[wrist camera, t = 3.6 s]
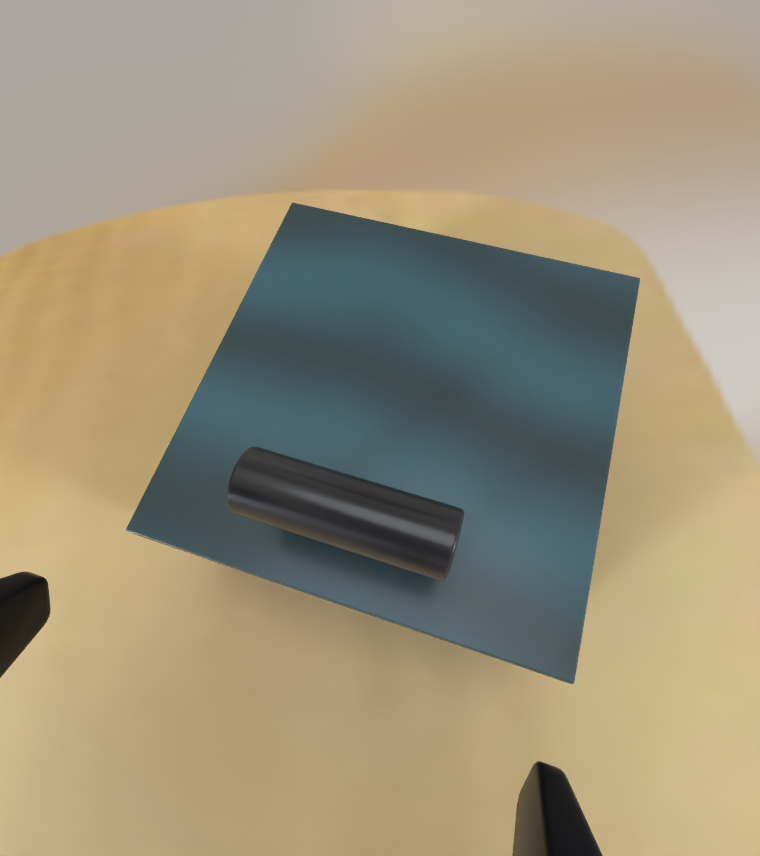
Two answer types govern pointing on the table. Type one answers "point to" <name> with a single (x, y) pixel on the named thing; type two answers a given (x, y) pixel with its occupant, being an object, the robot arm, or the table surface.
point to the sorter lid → (409, 434)
